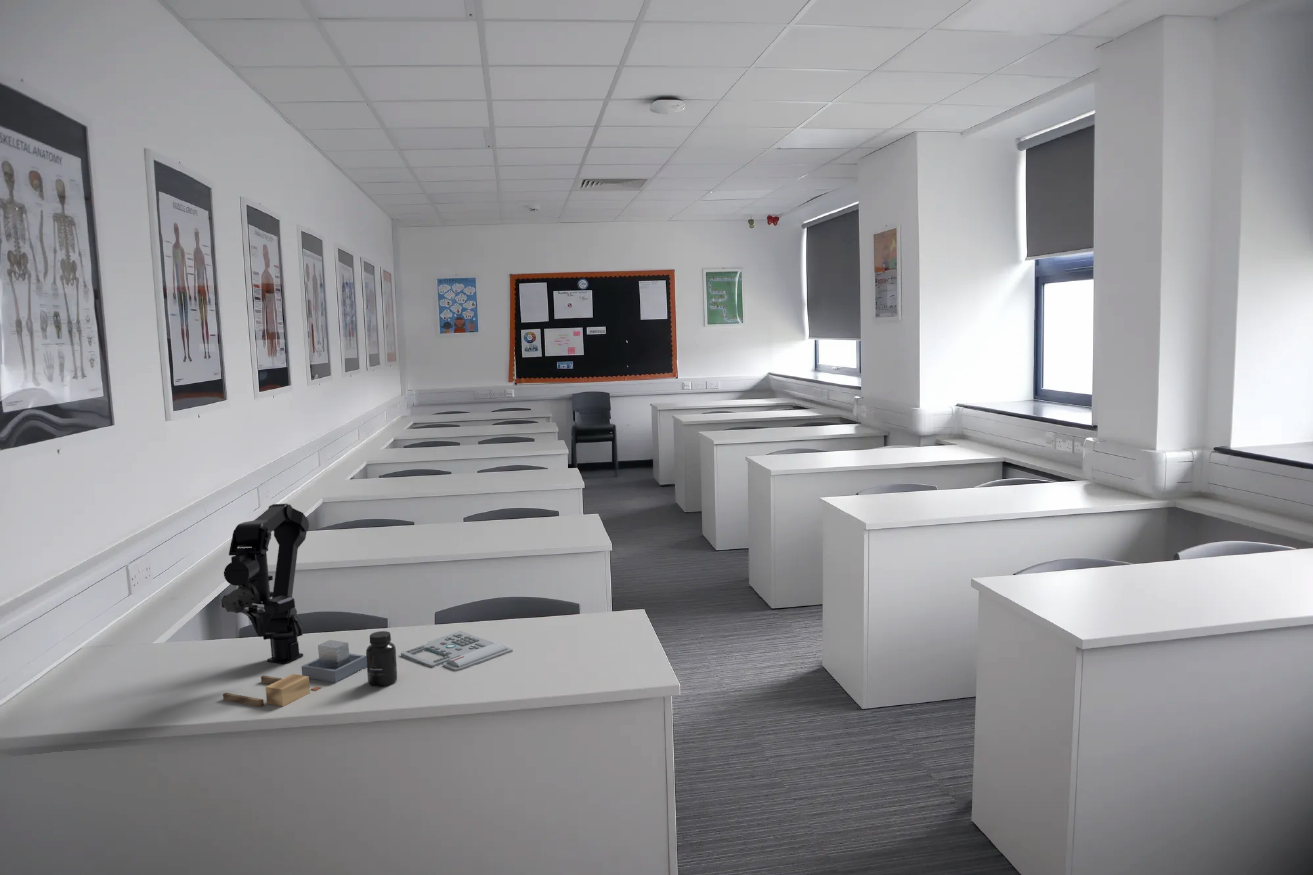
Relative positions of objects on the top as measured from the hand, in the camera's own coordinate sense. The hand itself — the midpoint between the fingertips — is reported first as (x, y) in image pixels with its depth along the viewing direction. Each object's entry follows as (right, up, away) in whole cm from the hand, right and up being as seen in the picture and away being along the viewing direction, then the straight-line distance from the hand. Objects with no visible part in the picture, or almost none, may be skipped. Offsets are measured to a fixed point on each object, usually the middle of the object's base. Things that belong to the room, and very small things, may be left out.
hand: (261, 635), depth 210 cm
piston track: (+7, -12, -8) cm, 16 cm away
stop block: (+17, -10, +4) cm, 20 cm away
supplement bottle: (+31, -11, -3) cm, 33 cm away
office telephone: (+44, -9, +15) cm, 48 cm away
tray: (+17, -10, +4) cm, 20 cm away
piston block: (+12, -12, -11) cm, 20 cm away
